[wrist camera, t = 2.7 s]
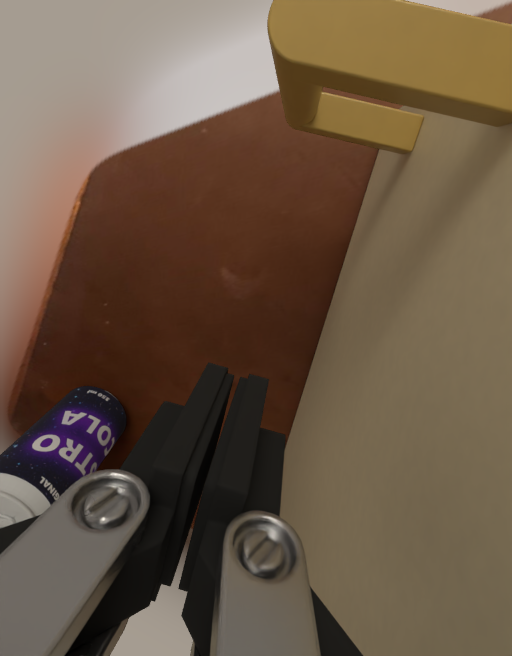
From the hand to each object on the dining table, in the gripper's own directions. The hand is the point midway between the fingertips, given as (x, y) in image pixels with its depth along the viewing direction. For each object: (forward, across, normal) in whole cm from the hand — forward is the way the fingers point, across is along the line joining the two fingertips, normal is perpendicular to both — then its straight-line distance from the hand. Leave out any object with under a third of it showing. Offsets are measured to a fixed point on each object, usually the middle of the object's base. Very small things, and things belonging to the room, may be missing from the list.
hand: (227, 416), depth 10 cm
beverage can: (+18, +12, +16) cm, 27 cm away
